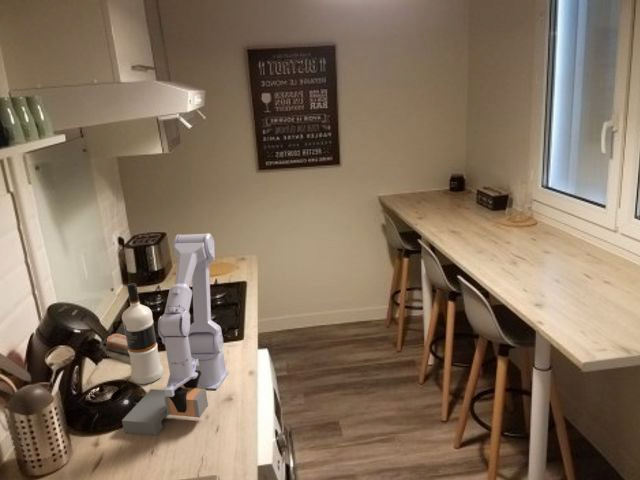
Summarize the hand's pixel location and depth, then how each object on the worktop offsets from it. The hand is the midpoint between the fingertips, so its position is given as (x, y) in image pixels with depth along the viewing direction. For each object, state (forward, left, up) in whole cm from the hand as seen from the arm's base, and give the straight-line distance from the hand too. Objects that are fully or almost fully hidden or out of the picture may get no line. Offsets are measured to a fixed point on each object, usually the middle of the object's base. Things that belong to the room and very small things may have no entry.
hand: (187, 405), depth 134 cm
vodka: (-18, -22, -5) cm, 29 cm away
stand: (0, -10, -5) cm, 11 cm away
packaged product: (-31, -38, -5) cm, 50 cm away
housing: (0, 0, -2) cm, 2 cm away
